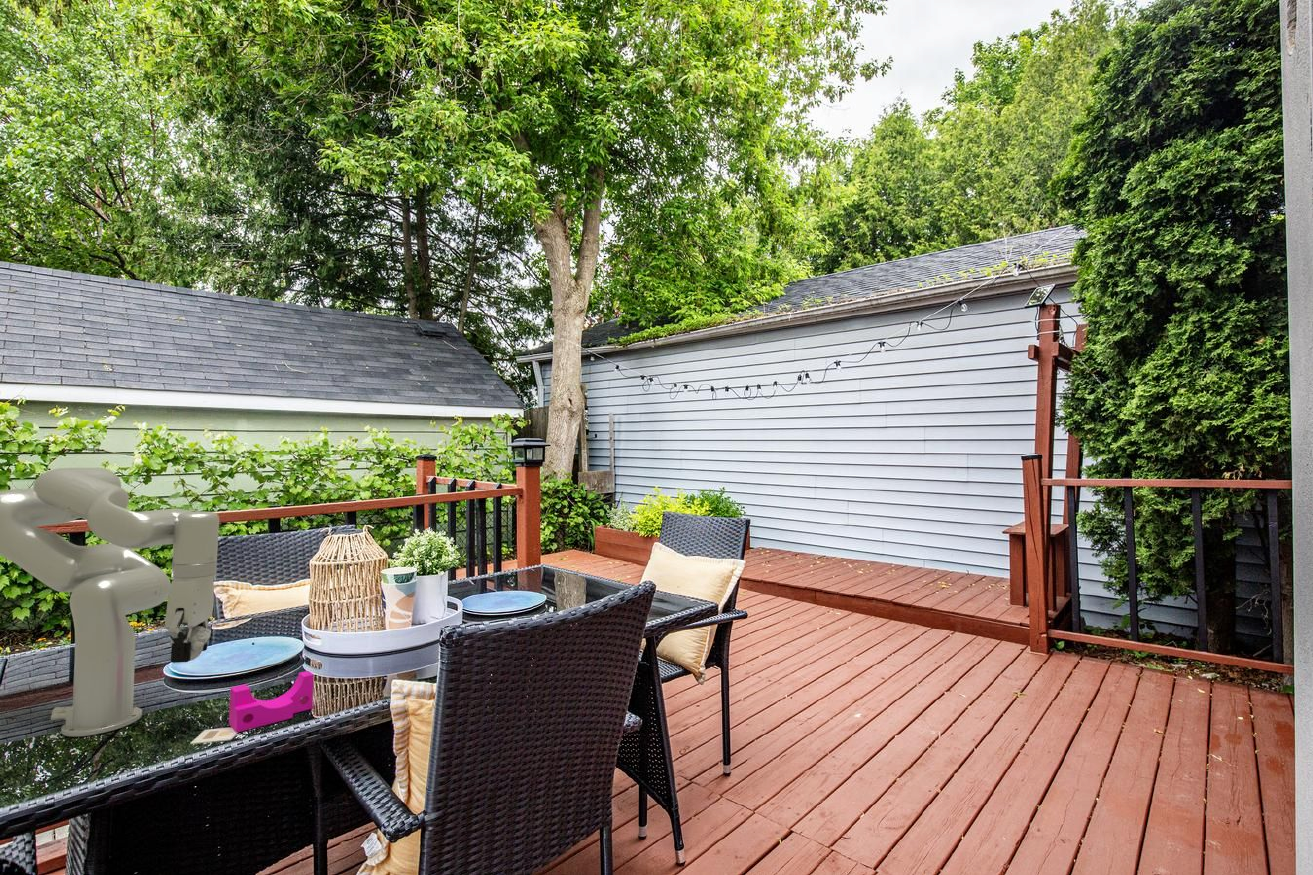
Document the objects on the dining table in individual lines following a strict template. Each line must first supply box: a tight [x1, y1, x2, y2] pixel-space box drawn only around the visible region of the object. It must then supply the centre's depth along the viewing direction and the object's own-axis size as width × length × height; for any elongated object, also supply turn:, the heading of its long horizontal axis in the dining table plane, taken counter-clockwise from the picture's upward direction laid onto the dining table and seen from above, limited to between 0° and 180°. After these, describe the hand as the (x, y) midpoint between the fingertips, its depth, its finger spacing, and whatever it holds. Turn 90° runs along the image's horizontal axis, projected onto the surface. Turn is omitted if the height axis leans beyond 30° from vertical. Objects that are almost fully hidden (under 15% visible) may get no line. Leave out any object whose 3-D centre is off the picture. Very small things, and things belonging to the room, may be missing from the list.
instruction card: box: [189, 726, 239, 745], centre depth 122 cm, size 7×6×1 cm
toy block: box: [228, 670, 315, 734], centre depth 130 cm, size 15×6×8 cm, turn 137°
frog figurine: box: [169, 626, 212, 662], centre depth 126 cm, size 6×7×7 cm
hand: (189, 655), depth 126 cm, fingers closed on frog figurine, 6 cm apart
